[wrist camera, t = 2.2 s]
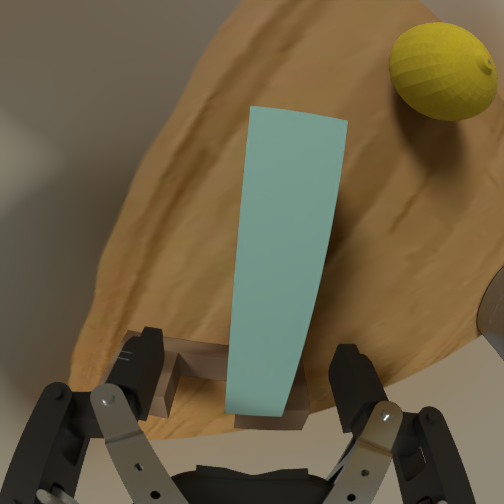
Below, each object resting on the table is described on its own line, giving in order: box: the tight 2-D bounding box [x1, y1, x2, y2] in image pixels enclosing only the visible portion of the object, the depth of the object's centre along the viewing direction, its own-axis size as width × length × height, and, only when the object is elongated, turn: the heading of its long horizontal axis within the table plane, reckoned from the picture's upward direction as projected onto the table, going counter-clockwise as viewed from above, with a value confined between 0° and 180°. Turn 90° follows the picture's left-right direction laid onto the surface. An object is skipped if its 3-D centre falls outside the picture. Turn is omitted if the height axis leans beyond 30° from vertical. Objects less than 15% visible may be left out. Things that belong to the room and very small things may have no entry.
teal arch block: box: [225, 106, 348, 417], centre depth 13 cm, size 12×3×9 cm, turn 174°
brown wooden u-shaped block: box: [99, 330, 311, 430], centre depth 18 cm, size 14×3×6 cm, turn 84°
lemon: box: [389, 22, 497, 121], centre depth 9 cm, size 6×6×8 cm
